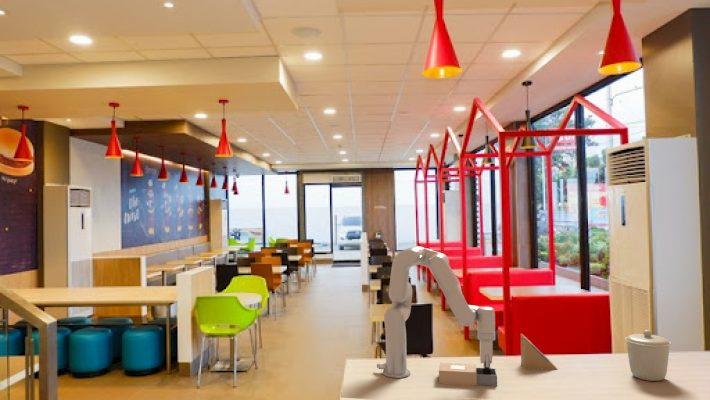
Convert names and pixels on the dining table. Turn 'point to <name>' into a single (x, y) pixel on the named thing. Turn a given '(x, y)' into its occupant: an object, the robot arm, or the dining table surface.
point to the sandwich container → (533, 356)
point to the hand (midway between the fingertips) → (487, 377)
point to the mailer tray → (486, 377)
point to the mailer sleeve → (457, 374)
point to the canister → (648, 355)
